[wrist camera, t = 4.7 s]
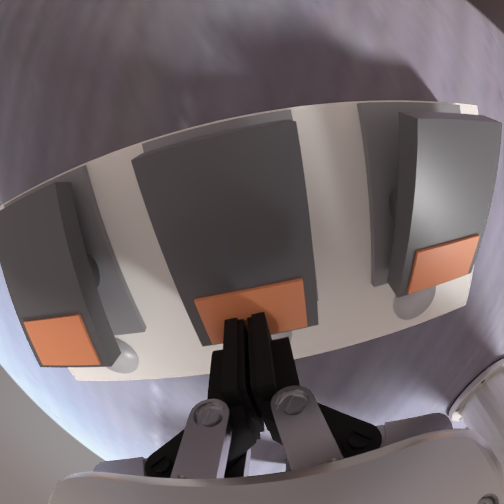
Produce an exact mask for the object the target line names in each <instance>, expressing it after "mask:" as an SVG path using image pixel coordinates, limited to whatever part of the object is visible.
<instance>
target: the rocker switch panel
mask: <svg viewBox="0 0 504 504" xmlns="http://www.w3.org/2000/svg"><path fill="white" fill-rule="evenodd" d="M398 112H444V113H461V114H473V115H478V108H477V105H469V104H459V103H448V102H434V101H409V100H379V101H353V102H338V103H326V104H316V105H307V106H298V107H291V108H284V109H277V110H271V111H265V112H259V113H253V114H248V115H243V116H238V117H233V118H228V119H223V120H219V121H215V122H210V123H206V124H202V125H198V126H194V127H190V128H187V129H183V130H179V131H176V132H172V133H169V134H165V135H162V136H159V137H155V138H152V139H149V140H146V141H143V142H140V143H137V144H134V145H131V146H128V147H125V148H123V149H120V150H117V151H114V152H112V153H109V154H106V155H104V156H101V157H99V158H96V159H94V160H91V161H89V162H86V163H84V164H82V165H79V166H77V167H75V168H72V169H70V170H68V171H66V172H63V173H61V174H59V175H57V176H55V177H53V178H51V179H49V180H47V181H45V182H43V183H41V184H39V185H37V186H35V187H33V188H31V189H29V190H27V191H25V192H23V193H21V194H20V195H18V196H16V197H14V198H12V199H11V200H9V201H7V202H5V203H4V204H2V205H0V210H2V209H4V208H5V207H7V206H9V205H11V204H12V203H14V202H16V201H18V200H20V199H22V198H24V197H26V196H27V195H29V194H31V193H33V192H35V191H37V190H39V189H41V188H43V187H45V186H48V185H50V184H52V183H54V182H71V185H72V191H73V196H74V202H75V207H76V212H77V216H78V221H79V226H80V230H81V234H82V238H83V242H84V246H85V250H86V254H89V255H91V256H92V257H93V258H94V259H95V261H96V263H97V265H98V268H99V273H100V282H99V286H98V288H97V290H98V293H99V296H100V299H101V302H102V305H103V308H104V311H105V313H106V316H107V319H108V321H109V324H110V327H111V329H112V332H113V334H114V337H115V339H116V341H117V344H118V346H119V349H120V351H121V354H120V356H119V357H118V358H117V360H116V361H115V363H114V364H113V365H112V367H68V369H69V370H70V372H71V373H72V374H73V376H74V377H75V378H76V380H79V381H119V380H145V379H161V378H174V377H185V376H194V375H203V374H210V367H211V356H212V352H213V351H216V350H222V349H223V344H217V345H210V346H203V347H202V344H201V342H200V340H199V338H198V336H197V334H196V332H195V329H194V327H193V325H192V323H191V321H190V318H189V316H188V314H187V312H186V309H185V307H184V305H183V302H182V300H181V298H180V295H179V293H178V291H177V288H176V286H175V283H174V281H173V278H172V276H171V274H170V271H169V269H168V266H167V264H166V261H165V258H164V256H163V253H162V251H161V248H160V245H159V243H158V240H157V237H156V235H155V232H154V229H153V226H152V223H151V221H150V218H149V215H148V212H147V209H146V206H145V203H144V200H143V197H142V194H141V191H140V188H139V185H138V182H137V179H136V176H135V172H134V169H133V166H132V162H131V160H132V159H134V158H135V157H137V156H138V155H140V154H142V153H144V152H148V151H151V150H154V149H157V148H161V147H164V146H167V145H171V144H174V143H178V142H182V141H185V140H189V139H193V138H197V137H201V136H205V135H209V134H213V133H218V132H222V131H226V130H231V129H236V128H241V127H246V126H251V125H256V124H262V123H268V122H274V121H280V120H286V119H289V120H293V121H296V124H297V130H298V136H299V142H300V149H301V155H302V162H303V169H304V176H305V184H306V191H307V199H308V208H309V216H310V225H311V235H312V245H313V255H314V266H315V279H316V292H317V307H318V324H319V325H315V326H311V327H306V328H302V329H297V330H293V331H288V332H283V333H278V334H273V335H271V337H272V340H275V339H279V338H284V337H288V336H289V340H290V344H291V349H292V353H293V358H294V359H299V358H303V357H308V356H312V355H316V354H320V353H325V352H329V351H332V350H336V349H340V348H344V347H348V346H351V345H355V344H358V343H362V342H365V341H369V340H372V339H375V338H378V337H382V336H385V335H388V334H391V333H394V332H397V331H400V330H403V329H406V328H409V327H412V326H414V325H417V324H420V323H423V322H425V321H428V320H431V319H433V318H436V317H438V316H441V315H444V314H446V313H449V312H451V311H453V310H456V309H458V308H460V307H463V306H465V305H466V303H467V298H468V294H469V290H470V285H471V280H472V275H473V269H474V266H473V269H472V272H471V273H470V274H467V275H464V276H462V277H459V278H456V279H453V280H451V281H448V282H445V283H442V284H439V285H436V286H433V287H430V288H427V289H424V290H421V291H418V292H415V293H412V294H409V295H405V296H402V297H399V298H397V297H396V295H395V293H394V292H393V290H392V288H391V287H390V285H389V284H388V282H387V278H388V272H389V266H390V259H391V252H392V245H393V237H394V228H395V222H394V220H393V218H392V216H391V212H390V207H389V198H390V194H391V192H392V190H394V189H398V174H399V114H398Z"/></svg>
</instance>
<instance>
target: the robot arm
mask: <svg viewBox="0 0 504 504" xmlns="http://www.w3.org/2000/svg"><path fill="white" fill-rule="evenodd" d="M251 316H252V317H249V318H247V328H248V332H247V329H246V326H245V323H244V320H243V319H239V320H238V318H237V317H236V318H231V319H226V320H225V321H224V337H223V349H222V350H216V351H213V352H212V356H211V367H210V377H209V388H208V399H207V400H204V401H201V402H199V403H198V404H196V405H195V406H194V407H193V408H192V410H191V412H190V414H189V418H188V421H187V424H186V427H185V429H184V430H183V431H181V432H180V433H179V434H178V435H176V436H175V437H174V438H172V439H171V440H170V441H169V442H167V443H166V444H165V445H163V446H162V447H161V448H159V449H158V450H157V451H155V452H154V453H153V454H152V455H150V456H149V457H148V458H146V459H145V458H143V457H138V458H131V459H122V460H113V461H104V462H100V463H99V464H98V465H96V467H95V468H94V470H93V472H82V473H76V474H72V475H68V476H66V477H64V478H62V479H61V480H59V481H58V483H57V484H56V486H55V487H54V489H53V491H52V493H51V496H50V498H49V501H48V504H504V359H501V360H499V361H497V362H496V363H494V364H492V365H491V366H490V367H489V368H487V369H486V370H485V371H484V372H482V373H481V374H480V375H479V376H478V377H477V378H476V379H475V380H474V381H473V382H472V383H471V384H470V385H469V386H468V387H467V388H466V389H465V390H464V391H463V392H462V393H461V394H460V396H459V397H458V398H457V399H456V401H455V402H454V404H453V405H452V407H451V409H450V411H449V417H450V419H451V420H452V421H454V422H457V421H461V420H464V422H465V424H466V425H467V427H468V429H453V427H452V423H451V421H450V419H449V418H448V417H447V416H446V415H445V414H442V413H431V414H427V415H423V416H418V417H413V418H408V419H403V420H397V421H391V422H385V424H384V425H379V426H374V425H372V424H370V423H367V422H365V421H362V420H359V419H357V418H354V417H351V416H349V415H346V414H344V413H341V412H339V411H336V410H334V409H331V408H329V407H327V406H324V405H322V404H319V403H317V402H316V400H315V397H314V395H313V394H312V392H311V391H310V390H309V389H307V388H305V387H302V386H300V385H299V380H298V375H297V371H296V366H295V362H294V358H293V353H292V349H291V344H290V340H289V336H288V337H284V338H279V339H275V340H272V337H271V334H270V331H269V327H268V324H267V320H266V316H265V312H260V313H256V314H251ZM264 423H265V425H266V427H267V430H268V431H270V434H271V436H272V439H273V440H274V441H276V442H278V443H280V444H281V445H283V447H284V450H285V453H286V456H287V458H288V461H289V464H290V467H291V470H292V471H286V472H280V473H273V474H265V475H257V476H248V472H249V465H250V457H251V447H252V446H253V445H254V444H255V443H256V440H257V439H260V432H263V431H264Z"/></svg>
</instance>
